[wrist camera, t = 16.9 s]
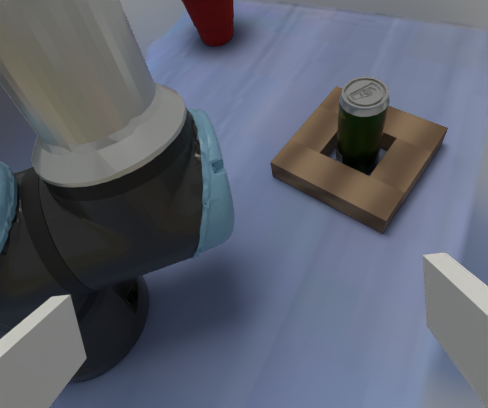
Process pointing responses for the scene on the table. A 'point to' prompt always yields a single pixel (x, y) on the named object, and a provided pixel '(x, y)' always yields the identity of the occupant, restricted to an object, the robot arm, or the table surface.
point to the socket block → (350, 180)
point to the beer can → (361, 122)
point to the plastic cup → (212, 19)
